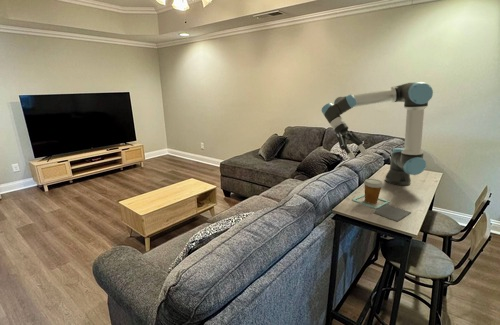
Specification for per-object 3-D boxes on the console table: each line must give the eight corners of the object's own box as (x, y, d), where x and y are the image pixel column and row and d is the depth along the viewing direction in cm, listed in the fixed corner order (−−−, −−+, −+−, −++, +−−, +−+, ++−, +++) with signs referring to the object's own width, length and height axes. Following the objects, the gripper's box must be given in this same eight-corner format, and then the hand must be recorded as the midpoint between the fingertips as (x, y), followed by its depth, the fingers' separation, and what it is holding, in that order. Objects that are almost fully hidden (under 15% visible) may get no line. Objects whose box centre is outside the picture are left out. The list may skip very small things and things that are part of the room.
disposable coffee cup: (384, 203, 145) (387, 183, 142) (369, 205, 142) (372, 185, 139) (371, 197, 154) (374, 177, 150) (357, 199, 151) (360, 179, 148)
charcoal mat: (387, 205, 143) (387, 204, 143) (410, 213, 134) (411, 212, 134) (372, 212, 135) (373, 211, 134) (397, 221, 125) (397, 220, 125)
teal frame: (365, 194, 158) (365, 193, 158) (389, 202, 147) (390, 201, 147) (351, 200, 149) (352, 199, 149) (376, 209, 138) (376, 208, 138)
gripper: (346, 128, 166) (365, 156, 159) (322, 132, 151) (342, 163, 144) (355, 121, 161) (375, 149, 154) (331, 123, 146) (352, 155, 139)
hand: (359, 156), depth 149 cm, fingers open, 13 cm apart
